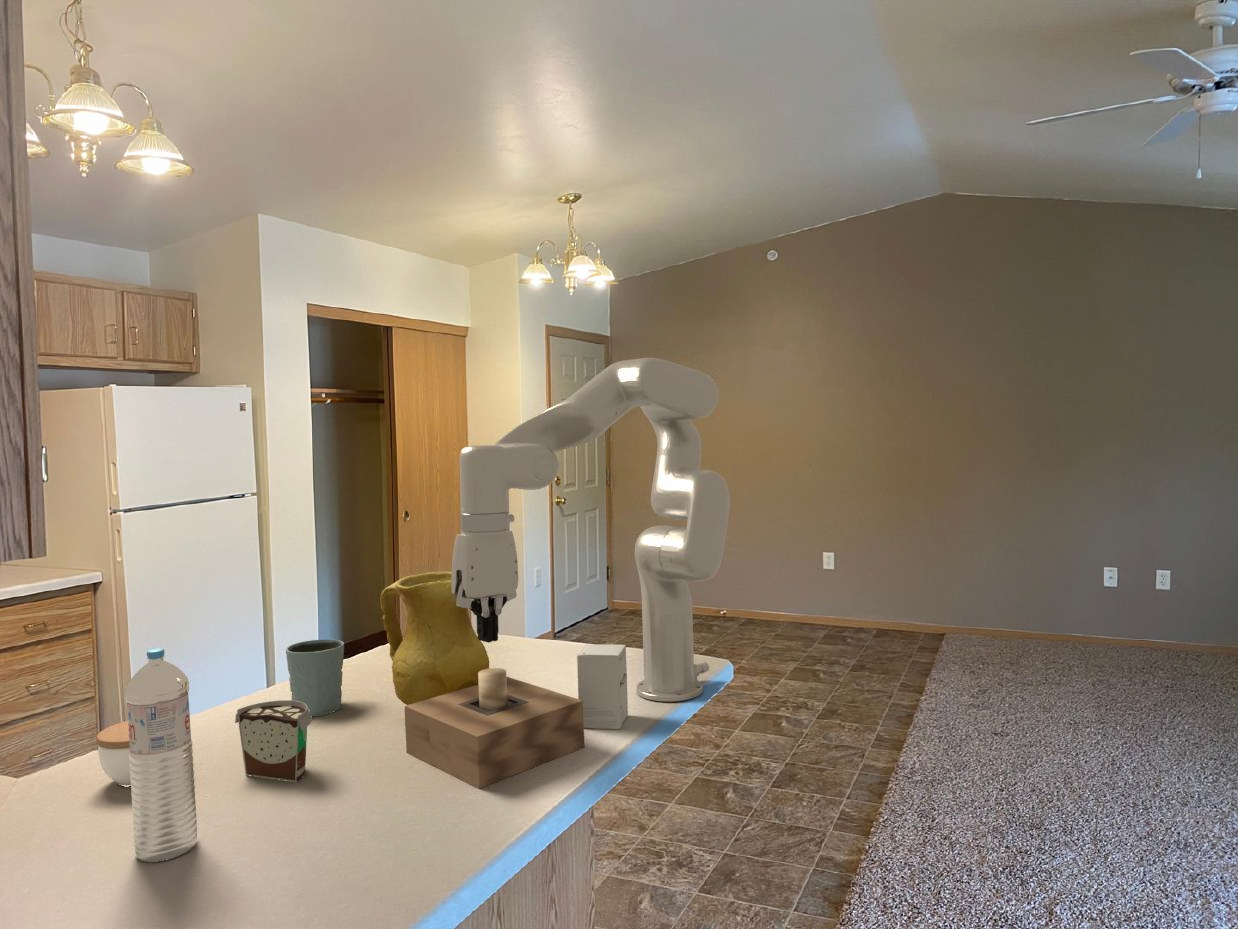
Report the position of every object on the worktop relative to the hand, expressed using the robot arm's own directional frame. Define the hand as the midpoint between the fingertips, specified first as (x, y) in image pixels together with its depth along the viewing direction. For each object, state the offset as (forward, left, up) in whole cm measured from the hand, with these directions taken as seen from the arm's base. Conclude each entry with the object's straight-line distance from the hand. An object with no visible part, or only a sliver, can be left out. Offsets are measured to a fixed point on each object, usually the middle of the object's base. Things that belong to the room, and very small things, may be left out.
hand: (487, 640), depth 129 cm
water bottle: (+45, -5, -18) cm, 49 cm away
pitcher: (-5, -22, -18) cm, 29 cm away
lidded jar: (+41, -32, -18) cm, 55 cm away
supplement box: (-21, +4, -18) cm, 28 cm away
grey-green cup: (+9, -42, -18) cm, 47 cm away
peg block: (-1, 0, -18) cm, 18 cm away
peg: (-1, 0, -12) cm, 12 cm away
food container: (+25, -18, -18) cm, 36 cm away
